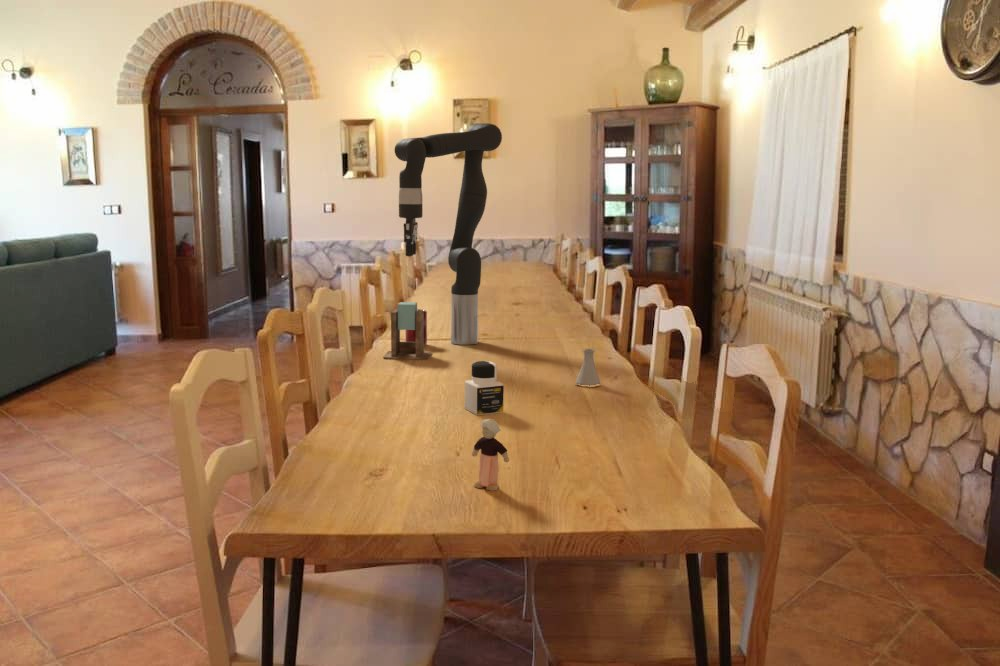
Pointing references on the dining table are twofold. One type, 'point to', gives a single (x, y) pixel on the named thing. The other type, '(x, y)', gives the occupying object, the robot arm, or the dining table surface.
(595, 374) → the flask
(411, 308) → the block
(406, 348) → the brown wooden holder
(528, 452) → the dining table surface
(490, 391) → the medicine bottle
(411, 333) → the soda can
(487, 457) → the grandmother figurine
